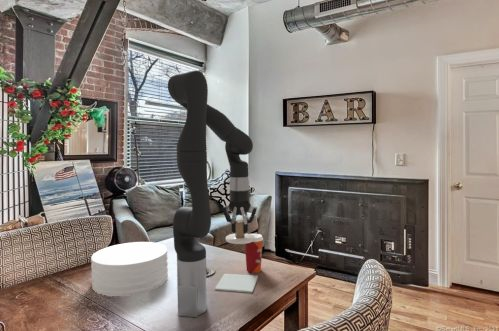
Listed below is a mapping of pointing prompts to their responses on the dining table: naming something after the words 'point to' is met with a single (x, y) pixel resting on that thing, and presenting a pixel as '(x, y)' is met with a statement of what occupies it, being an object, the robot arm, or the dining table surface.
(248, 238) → the cup lid
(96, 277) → the plate stack
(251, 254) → the coffee cup
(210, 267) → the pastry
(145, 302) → the dining table surface
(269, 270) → the dining table surface
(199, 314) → the robot arm
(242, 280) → the rubber mat
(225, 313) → the dining table surface
